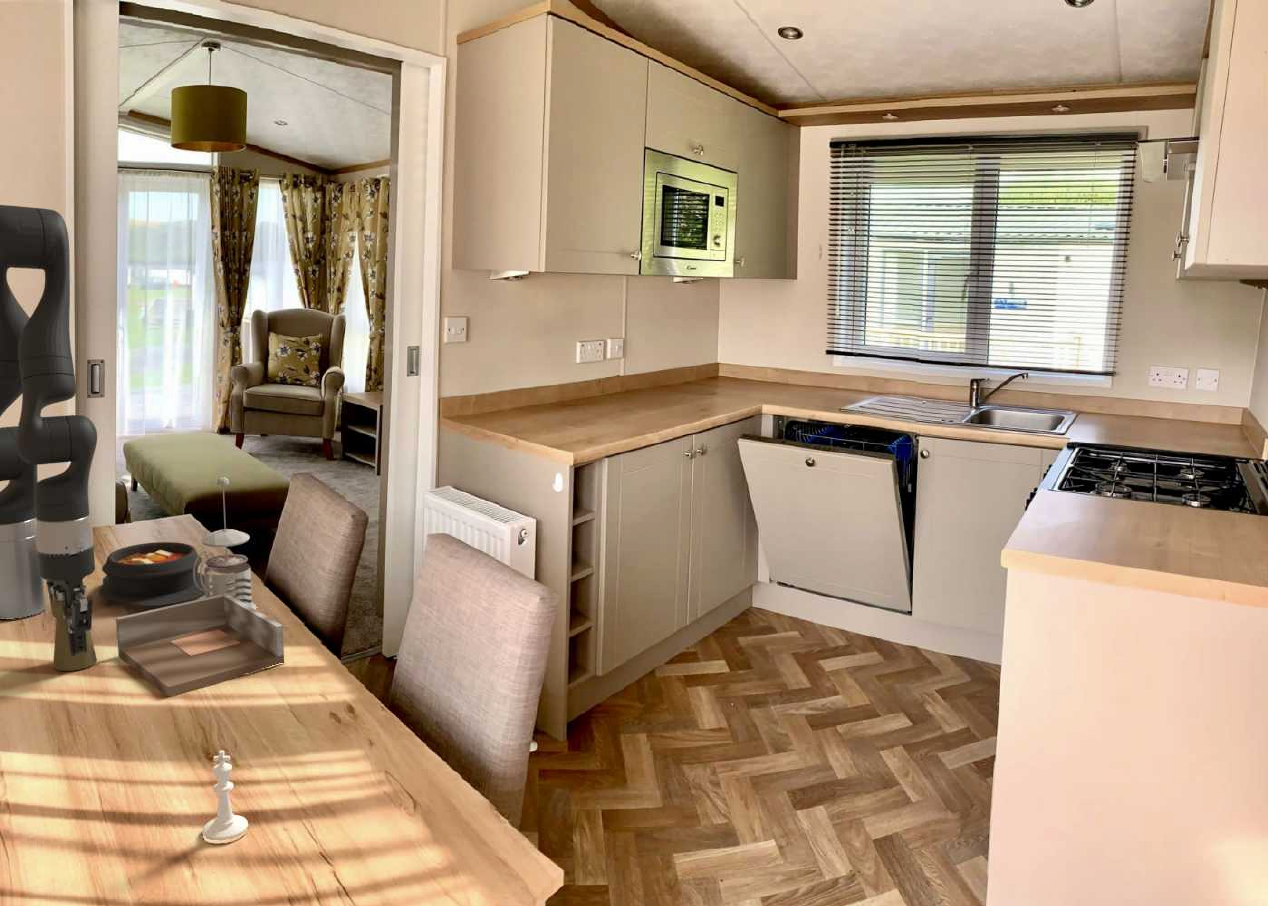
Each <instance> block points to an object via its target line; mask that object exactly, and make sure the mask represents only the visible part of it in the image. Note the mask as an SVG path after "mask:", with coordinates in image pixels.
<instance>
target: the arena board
mask: <svg viewBox="0 0 1268 906" xmlns="http://www.w3.org/2000/svg"><path fill="white" fill-rule="evenodd" d="M233 596H234V595H229V594H227V593H226V594H221V595H217V596H212V597H208V598H198V599H195V600H192V601H189V602H185V603H181V604H176V605H170V606H163V607H158V608H155V609H150V610H146V611H143V612H138V613H133V614H128V615H122V616H119V617H115V624H116V636H117V637H116V638H117V649H118V650H117V653H118V657H119V658H120V659H122V660H123V661H124V662H125V663H126V664H128V665H129V666H130V667H131V668H132V669H134V670H135V671H136V672H137V673H139V674H140V675H141V676H143V678H145V679H146V680H147V681H149V683H151V684H152V685H154V686H155V687H156V689H158V690H160V691H161V692H162V693H163V694H164V695H166V696H167V697H169V698H170V697H173V696H178V695H180V694H183V693H187V692H191V691H194V690H198V689H201V688H205V687H208V686H212V685H214V684H213V683H215V684H218V683H221V682H226V681H230V680H232V678H233V679H235V678H239V677H238V676H240V677H242V676H241V675H243V676H245V675H244V674H246V673H250V674H252V673H251V672H254V671H257V670H260V669H262V668H266V667H269V666H272V665H276V664H279V663H284V664H285V650H284V649H285V648H284V625H283V624H282V623H279V622H278V621H276V620H274V619H273V618H270V617H269V616H267V615H265V614H264V613H262V612H260V611H259V610H255V609H253V608H252V607H250V606H248V605H247V604H245V603H243V602H241V601H240V600H238V599H236V598H234V597H233ZM257 672H258V671H257ZM254 673H255V672H254ZM211 684H212V685H211ZM207 685H208V686H207Z"/></svg>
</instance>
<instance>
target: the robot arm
mask: <svg viewBox="0 0 1268 906" xmlns="http://www.w3.org/2000/svg"><path fill="white" fill-rule="evenodd" d="M69 239H70V238H69V233H68V228H67V224H66V221H65V219H64V217H63V216H62V214H60V213H59V212H58V211H56V210H54V209H48V208H41V207H40V208H39V207H31V206H21V205H20V206H19V205H9V204H7V205H6V204H0V418H1V416H3V414H4V413H5V412H6V411H7V410H8V408H9V407H11V406H12V405H13V404H14V403H15V402H16V400H18V398H20V397H21V396H22V400H21V410H20V411H21V412H20V416H19V421H18V424H17V426H16V425H15V426H14V425H13V426H5V427H4V426H3V427H0V482H5V481H6V482H7V481H8V484H7V485H6V486H4V488H3V489H2V490H1V491H0V619H2V618H3V619H7V618H9V619H10V618H19V619H21V618H20V617H25V618H28V617H27V616H29V617H32V616H36V615H38V614H40V613H42V612H44V611H45V610H46V609H47V607H48V606H47V599H46V598H47V597H46V587H47V591H48V595H49V596H48V597H49V601H50V609H51V610H52V608H51V607H52V603H53V602H54V600H55V599H57V600H58V601H59V602H60V604H61V608H62V611H63V612H62V617H63V618H64V619H66V621H67V627H68V632H69V633H68V634H69V641H70V649H71V655H73V656H75V654H76V653H79V652H83V651H84V652H85V653H86V652H87V644H86V630H90V631H91V630H92V627H93V626H92V619H93V608H94V607H93V606H94V603H93V602H94V600H93V598H92V596H89V597H88V595H89V593H88V587H87V585H86V584H85V585H84V581H83V580H84V579H85V578H86V577H87V576H90V575H91V574H93V573H94V572H95V570H96V561H95V548H94V536H93V535H94V534H93V526H92V521H91V517H90V505H89V490H88V489H89V480H90V479H89V477H90V472H91V468H92V463H93V459H94V456H95V452H96V448H97V444H98V443H97V442H98V432H97V427H96V426H95V424H94V422H93V421H92V420H91V419H90V418H89V417H87V416H86V415H82V414H70V415H55V416H41V415H42V410H43V409H44V408H45V407H48V406H50V405H53V404H58V403H62V402H65V401H69V400H71V399H72V398H74V396H76V393H77V382H76V381H77V380H76V376H75V369H74V362H73V361H74V360H73V355H72V345H71V335H70V305H71V304H70V303H71V301H70V299H71V291H70V290H71V288H70V287H71V286H70V285H71V279H70V277H71V276H70V275H71V272H70V269H71V268H70V267H71V265H70V264H71V263H70V241H69ZM10 268H13V269H14V268H15V269H30V270H31V269H32V270H43V271H44V286H43V292H42V295H41V298H40V300H39V302H38V304H37V306H36V308H35V309H34V311H33V313H32V314H31V316H29V315H28V313H27V312H26V311H25V309H24V308H23V306H22V305H21V304H20V303H19V302H18V300H17V298H16V296H15V295H14V293H13V290H11V287H10V285H9V283H8V277H7V275H8V274H7V273H8V270H9V269H10ZM69 462H70V463H69ZM61 463H69V466H68V467H67V468H66V469H65V471H63V472H61V473H59V474H56V475H52V476H49V477H46V478H44V479H40V480H39V481H38V466H39V465H49V464H61ZM45 580H46V584H45ZM86 597H87V598H86ZM66 606H67V607H68V608H70V609H72V613H68V612H67V607H66ZM31 615H32V616H31ZM51 615H52V616H53V614H52V613H51ZM79 621H81V624H78V622H79Z"/></svg>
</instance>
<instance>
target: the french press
mask: <svg viewBox="0 0 1268 906" xmlns="http://www.w3.org/2000/svg"><path fill="white" fill-rule="evenodd" d="M216 483H217V485H218V486H222V498H223V500H222V501H223V502H222V503H223V523H224V529H219V530H215V531H213V532H211V533H208V534H207V535H205V536H204V537H203V538H202V539H201V543H202V544H203V545H204V546H207V547H208V548H209V547H210V548H211V547H212V548H225V554H219V555H214V552H209V553H208V554H207V552H206V550H203V551H202V552H201V553H199V554H198V555H199V556H198V558H197V559H196V561H195V565H194V569H193V578H194V582H195V584H196V586H197V587H198V588H199V589H200V590H203V591H205V595H204V597H205V598H208V597H212V596H217V595H221V594H226V593H227V594H229V595H231V596H233V597H234V598H236V599H238V600H240V601H241V602H243V603H245V604H247V605H248V606H250V607H252V608H253V609H255V610H256V608H258V606H257V605H256V604H255V603H254V602H253V601H252V598H253V595H252V587H251V586H252V580H251V579H252V574H251V573H252V572H251V566H250V564H249V563H247V562H248V561H249V558H248V557H247V556H246V555H244V554H230V553H229V554H228V549H227V548H228V547H234V546H239V545H243V544H244V543H247V542H248V541H249V540H250V535H249V534H248V533H246V532H243V531H239V530H237V529H232V528H231V529H229V528H227V526H226V525H227V523H226V504H225V486H228V485H229V484H230V481H229V478H227V477H219V479H217V482H216ZM203 553H204V556H205V557H204V558H203V559H204V560H202V562H201V564H200V569H199V573H200V581H201V584H202V586H203V588H204V589H201V588H200V587H199V586H198V585H197V582H196V580H195V566H196V563H197V560H198V559H199V557H202V556H201V555H203ZM210 555H211V557H209V556H210ZM204 564H206V567H204ZM203 567H204V569H203ZM202 570H203V571H202ZM202 572H203V575H204V581H205V587H204V584H203V582H202ZM210 572H215V573H219V574H210ZM210 579H211V580H212V581H210ZM232 581H234V582H232ZM210 586H212V587H210ZM256 606H257V607H256Z"/></svg>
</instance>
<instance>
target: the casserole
mask: <svg viewBox="0 0 1268 906" xmlns="http://www.w3.org/2000/svg"><path fill="white" fill-rule="evenodd" d="M199 555H200V554H198V552H197V549H196V547H195V546H193V545H190V544H187V543H182V542H173V541H172V542H171V541H160V542H159V541H158V542H146V543H140V544H139V543H138V544H134V545H129V546H125V547H122V548H118V549H116V550H114V551H112V552H111V553H110V554H108V556H107V557H106V558H107V559H106V562H105V563H104V564H103V566H102V567H101V570H102V572H103V573H104V574H105V577H103V578H102V585H101V586H100V588H99V590H98V595H100V597H102V598H103V599H106V600H108V601H112V602H115V603H116V602H117V603H124V604H129V605H135V606H138V607H141V608H149V609H151V608H163V607H168V606H172V605H177V604H181V603H186V602H190V601H195V600H199V599H201V597H205V591H203V590H200V589H199V588H198V587H197V586H196V584H195V582H194V578H193V569H194V565H195V561H196V559H197V558H198V556H199ZM202 563H203V558H202V556H200V557H199V559H198V560H197V563H196V566H195V580H196V582H197V585H198V586H199V587H200V588H201V589H204V588H203V586H202V584H201V581H200V572H199V566H201V564H202ZM202 582H203V584H204V587H205V581H204V573H203V574H202Z"/></svg>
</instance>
